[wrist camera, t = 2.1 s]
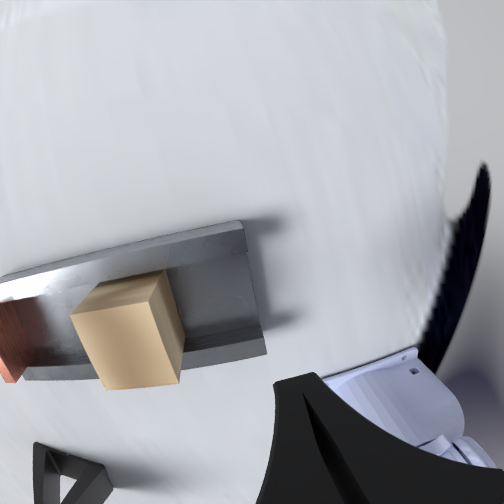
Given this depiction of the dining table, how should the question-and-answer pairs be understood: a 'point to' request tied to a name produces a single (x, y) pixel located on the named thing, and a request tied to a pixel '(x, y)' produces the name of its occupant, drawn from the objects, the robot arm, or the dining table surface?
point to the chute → (123, 265)
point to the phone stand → (59, 463)
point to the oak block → (132, 331)
